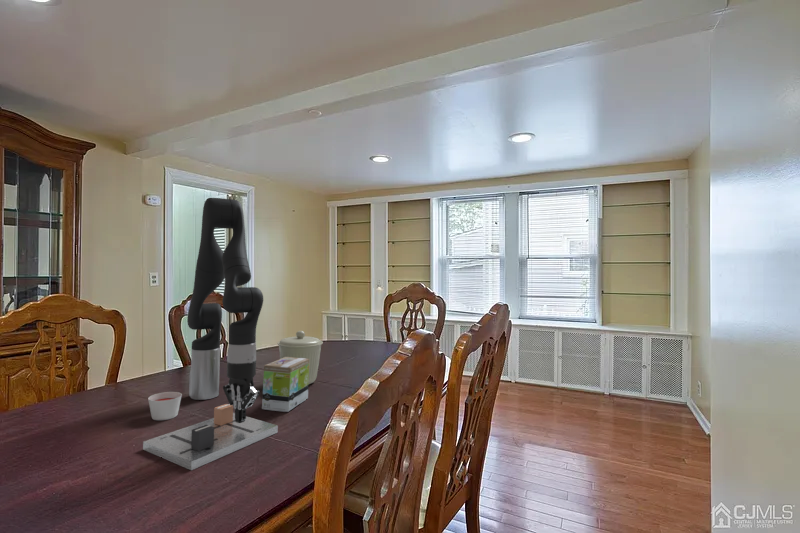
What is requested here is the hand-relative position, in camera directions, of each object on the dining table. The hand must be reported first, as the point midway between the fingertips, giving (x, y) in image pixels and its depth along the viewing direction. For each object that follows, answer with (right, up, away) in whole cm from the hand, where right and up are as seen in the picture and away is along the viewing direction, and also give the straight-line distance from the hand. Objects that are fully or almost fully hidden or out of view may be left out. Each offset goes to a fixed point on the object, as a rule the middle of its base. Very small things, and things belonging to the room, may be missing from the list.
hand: (240, 421), depth 114 cm
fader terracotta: (-6, -2, +4) cm, 7 cm away
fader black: (-5, -2, -12) cm, 13 cm away
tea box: (+5, -4, +27) cm, 28 cm away
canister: (+3, -5, +54) cm, 54 cm away
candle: (-28, -4, +13) cm, 31 cm away
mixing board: (-6, -4, -4) cm, 8 cm away
